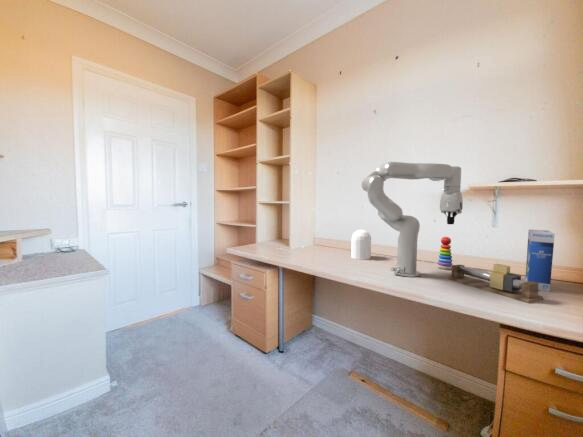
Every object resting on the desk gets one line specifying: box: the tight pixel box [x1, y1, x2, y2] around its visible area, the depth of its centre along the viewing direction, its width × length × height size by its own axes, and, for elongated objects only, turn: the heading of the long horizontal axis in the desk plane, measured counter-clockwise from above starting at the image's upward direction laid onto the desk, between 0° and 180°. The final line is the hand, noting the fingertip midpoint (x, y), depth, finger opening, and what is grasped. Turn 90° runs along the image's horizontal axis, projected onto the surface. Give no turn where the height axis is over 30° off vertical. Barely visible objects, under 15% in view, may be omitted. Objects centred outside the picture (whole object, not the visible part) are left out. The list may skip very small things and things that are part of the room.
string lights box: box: [524, 229, 556, 293], centre depth 114 cm, size 13×8×26 cm, turn 141°
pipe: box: [458, 266, 526, 291], centre depth 113 cm, size 30×4×4 cm, turn 22°
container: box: [350, 229, 372, 261], centre depth 174 cm, size 14×13×20 cm
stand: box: [446, 264, 544, 304], centre depth 113 cm, size 33×10×7 cm, turn 22°
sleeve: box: [489, 263, 514, 290], centre depth 109 cm, size 5×7×10 cm
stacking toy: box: [436, 236, 453, 271], centre depth 146 cm, size 8×8×19 cm
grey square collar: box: [503, 273, 522, 292], centre depth 105 cm, size 3×6×6 cm, turn 112°
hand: (450, 224), depth 135 cm, fingers closed
